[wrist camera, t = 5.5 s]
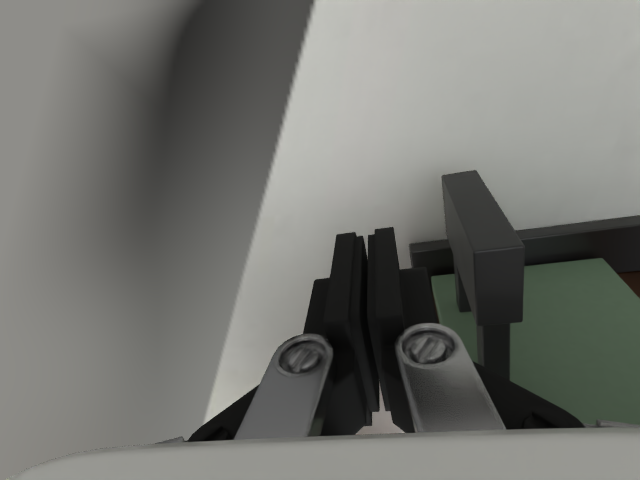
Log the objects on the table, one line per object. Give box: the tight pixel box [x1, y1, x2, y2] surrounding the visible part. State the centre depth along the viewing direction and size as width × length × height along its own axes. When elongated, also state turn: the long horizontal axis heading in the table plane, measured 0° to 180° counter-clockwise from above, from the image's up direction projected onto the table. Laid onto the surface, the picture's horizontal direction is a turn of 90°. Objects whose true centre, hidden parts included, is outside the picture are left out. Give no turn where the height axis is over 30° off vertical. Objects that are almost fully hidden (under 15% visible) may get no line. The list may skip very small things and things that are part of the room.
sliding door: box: [431, 170, 640, 425], centre depth 13 cm, size 7×6×10 cm
